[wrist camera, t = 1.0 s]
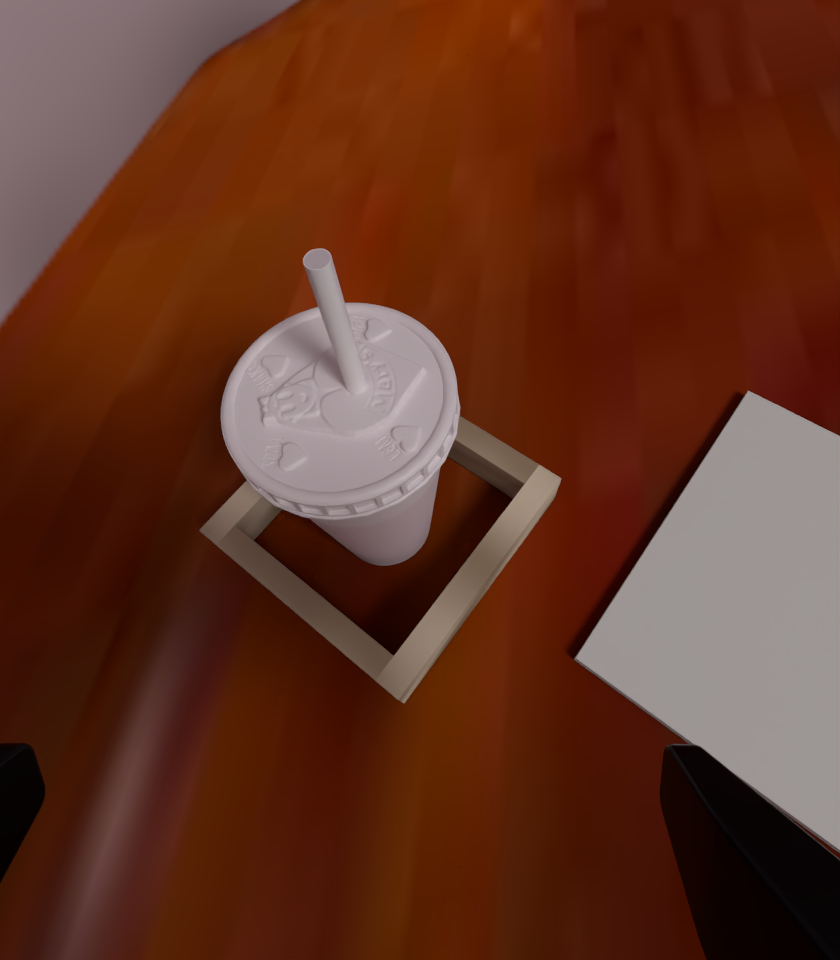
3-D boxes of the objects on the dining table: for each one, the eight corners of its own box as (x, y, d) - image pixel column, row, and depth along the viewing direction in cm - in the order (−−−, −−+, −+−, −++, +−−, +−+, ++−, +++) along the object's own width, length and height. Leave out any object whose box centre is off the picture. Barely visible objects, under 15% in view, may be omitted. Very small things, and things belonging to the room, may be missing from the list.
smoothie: (482, 574, 22) (502, 354, 9) (324, 618, 22) (127, 452, 9) (439, 438, 25) (410, 125, 12) (299, 476, 25) (119, 196, 12)
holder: (404, 703, 20) (398, 700, 18) (219, 546, 23) (198, 530, 22) (554, 498, 23) (561, 478, 21) (371, 383, 26) (364, 357, 24)
